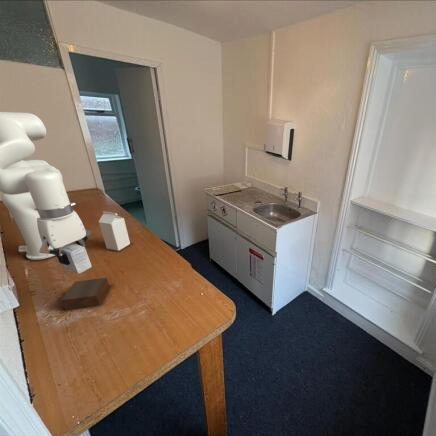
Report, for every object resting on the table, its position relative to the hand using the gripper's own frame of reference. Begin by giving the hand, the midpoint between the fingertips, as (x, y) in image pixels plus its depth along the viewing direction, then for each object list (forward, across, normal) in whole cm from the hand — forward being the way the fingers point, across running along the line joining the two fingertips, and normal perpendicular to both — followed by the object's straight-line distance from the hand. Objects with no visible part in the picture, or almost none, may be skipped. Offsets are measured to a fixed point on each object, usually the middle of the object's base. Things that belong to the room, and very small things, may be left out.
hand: (74, 259), depth 80 cm
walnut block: (+17, 0, 0) cm, 17 cm away
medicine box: (+4, 0, 0) cm, 4 cm away
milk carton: (+17, -30, -22) cm, 41 cm away
